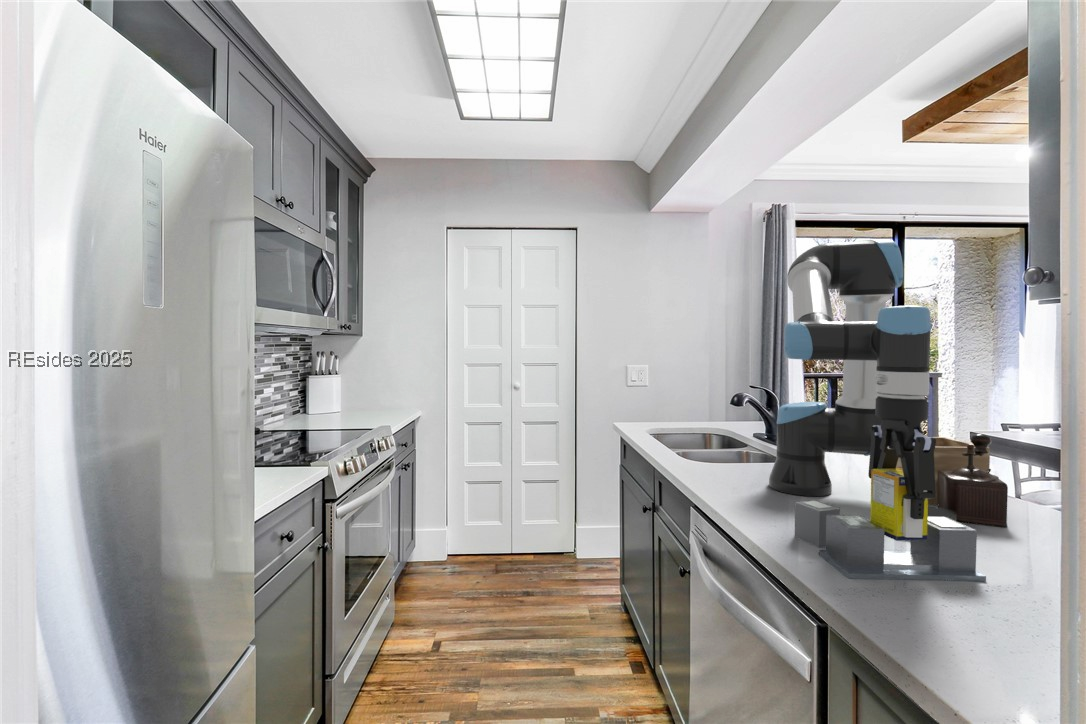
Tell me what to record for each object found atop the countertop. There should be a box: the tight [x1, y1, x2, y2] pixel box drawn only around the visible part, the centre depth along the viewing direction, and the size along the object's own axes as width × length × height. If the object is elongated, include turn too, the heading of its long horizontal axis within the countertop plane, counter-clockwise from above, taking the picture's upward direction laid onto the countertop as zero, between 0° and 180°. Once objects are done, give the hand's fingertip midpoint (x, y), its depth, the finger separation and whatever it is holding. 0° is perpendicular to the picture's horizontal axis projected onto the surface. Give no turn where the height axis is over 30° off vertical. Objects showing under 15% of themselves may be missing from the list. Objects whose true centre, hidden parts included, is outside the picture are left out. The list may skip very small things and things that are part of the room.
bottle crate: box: [896, 436, 991, 505], centre depth 134 cm, size 15×15×14 cm
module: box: [794, 499, 841, 548], centre depth 102 cm, size 6×5×7 cm
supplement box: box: [870, 468, 929, 542], centre depth 90 cm, size 6×6×11 cm
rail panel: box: [818, 514, 987, 582], centre depth 90 cm, size 10×22×8 cm, turn 88°
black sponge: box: [928, 506, 957, 521], centre depth 109 cm, size 16×8×4 cm, turn 131°
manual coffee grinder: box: [937, 433, 1009, 529], centre depth 119 cm, size 16×11×18 cm
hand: (898, 528), depth 90 cm, fingers closed on supplement box, 6 cm apart
